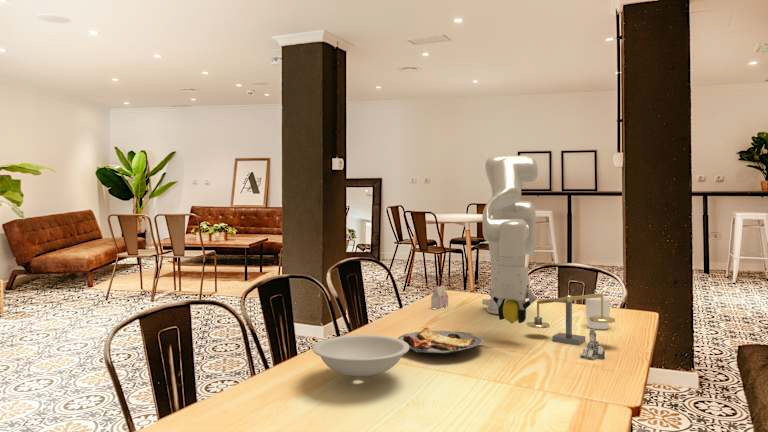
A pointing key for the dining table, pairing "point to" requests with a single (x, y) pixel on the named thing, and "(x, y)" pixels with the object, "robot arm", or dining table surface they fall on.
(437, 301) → the tea bag
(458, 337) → the food plate
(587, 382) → the dining table surface
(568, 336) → the balance
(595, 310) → the white cup
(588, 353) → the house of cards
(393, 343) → the soup bowl
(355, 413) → the dining table surface
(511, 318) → the lemon
